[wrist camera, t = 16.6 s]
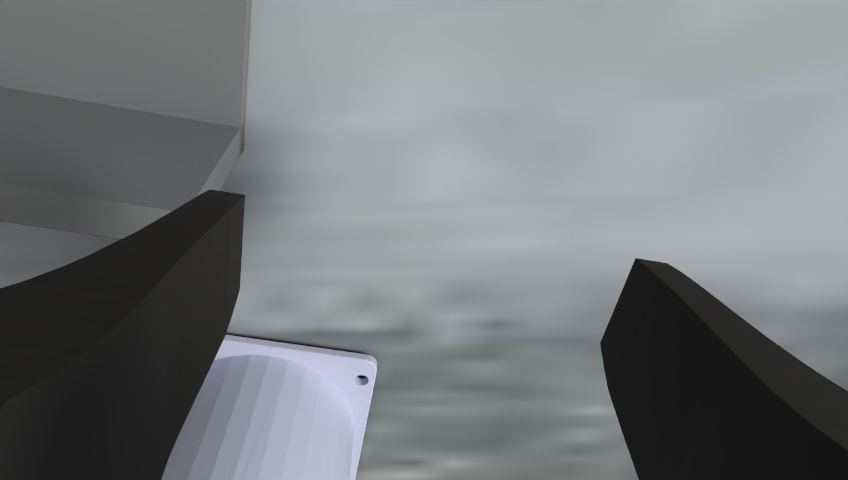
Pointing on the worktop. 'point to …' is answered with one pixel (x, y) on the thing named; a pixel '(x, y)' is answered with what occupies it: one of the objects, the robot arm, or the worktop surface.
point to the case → (118, 108)
